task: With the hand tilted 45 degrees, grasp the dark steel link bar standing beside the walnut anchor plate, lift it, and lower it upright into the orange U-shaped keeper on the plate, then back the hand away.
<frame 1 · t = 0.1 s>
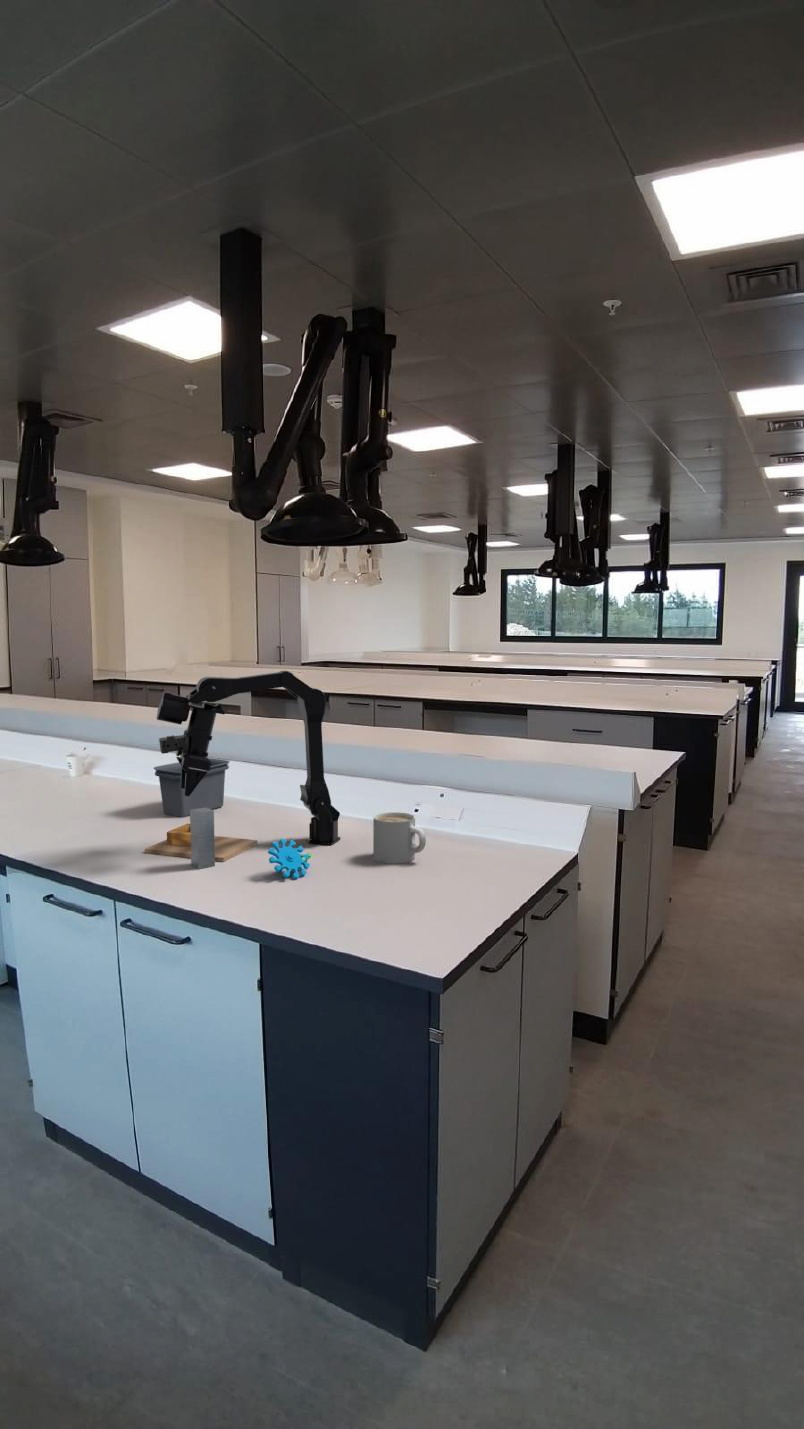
hand: (184, 792, 180), 15 cm above the table, tool pointing down, fingers open, 9 cm apart
link bar: (203, 865, 174), on the table
storage bin: (191, 811, 228), on the table
coffee mug: (399, 859, 180), on the table
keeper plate: (202, 848, 188), on the table
gear: (291, 875, 168), on the table
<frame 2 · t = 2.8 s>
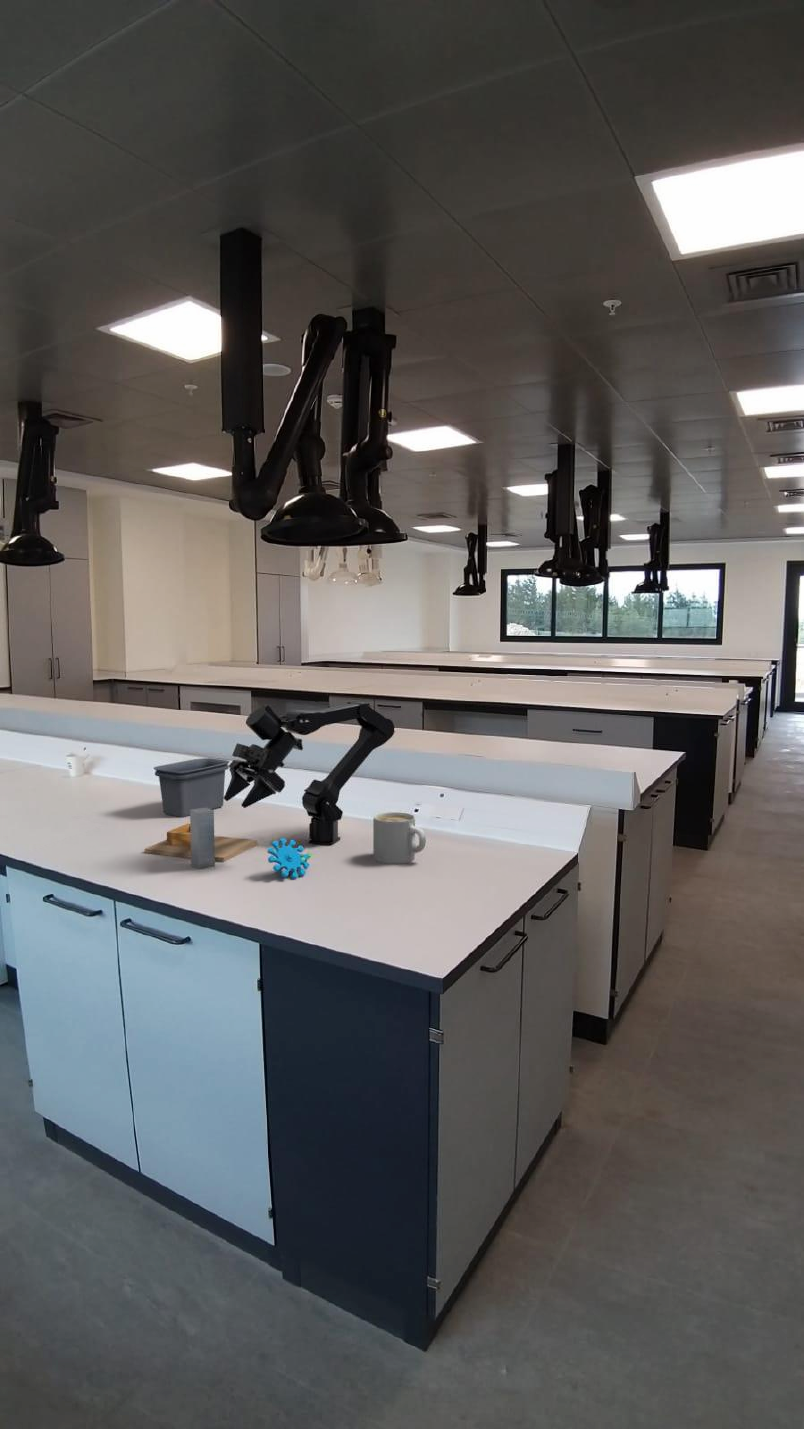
hand: (233, 803, 178), 14 cm above the table, tool tilted 45°, fingers open, 9 cm apart
nothing on the table moved.
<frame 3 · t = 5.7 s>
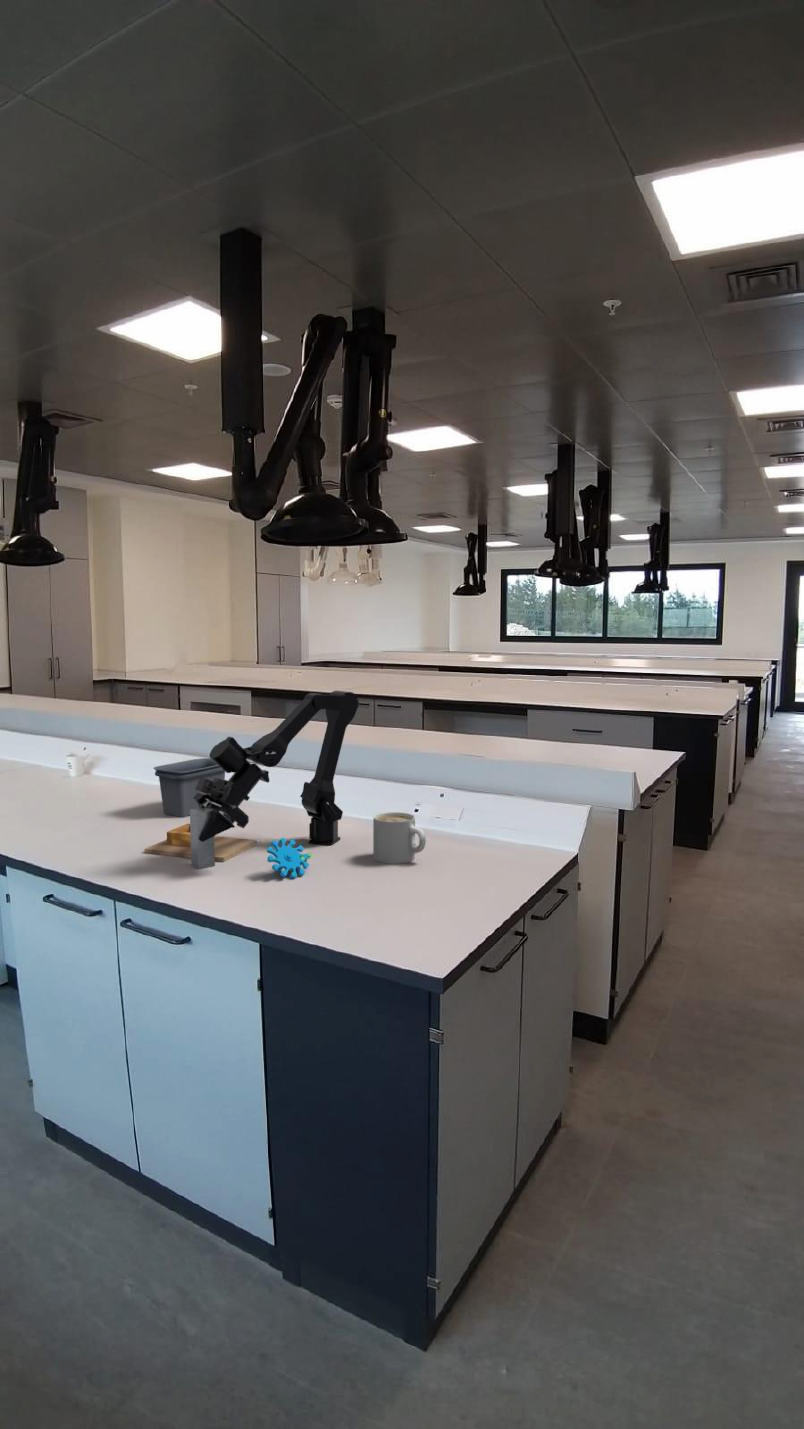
hand: (196, 838, 172), 7 cm above the table, tool tilted 45°, fingers closed on link bar, 4 cm apart
link bar: (203, 865, 174), on the table, touching gripper
everything else where it was.
when the fingers open (9 cm above the table, at t = 9.8 s): link bar drops 1 cm, resting on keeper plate.
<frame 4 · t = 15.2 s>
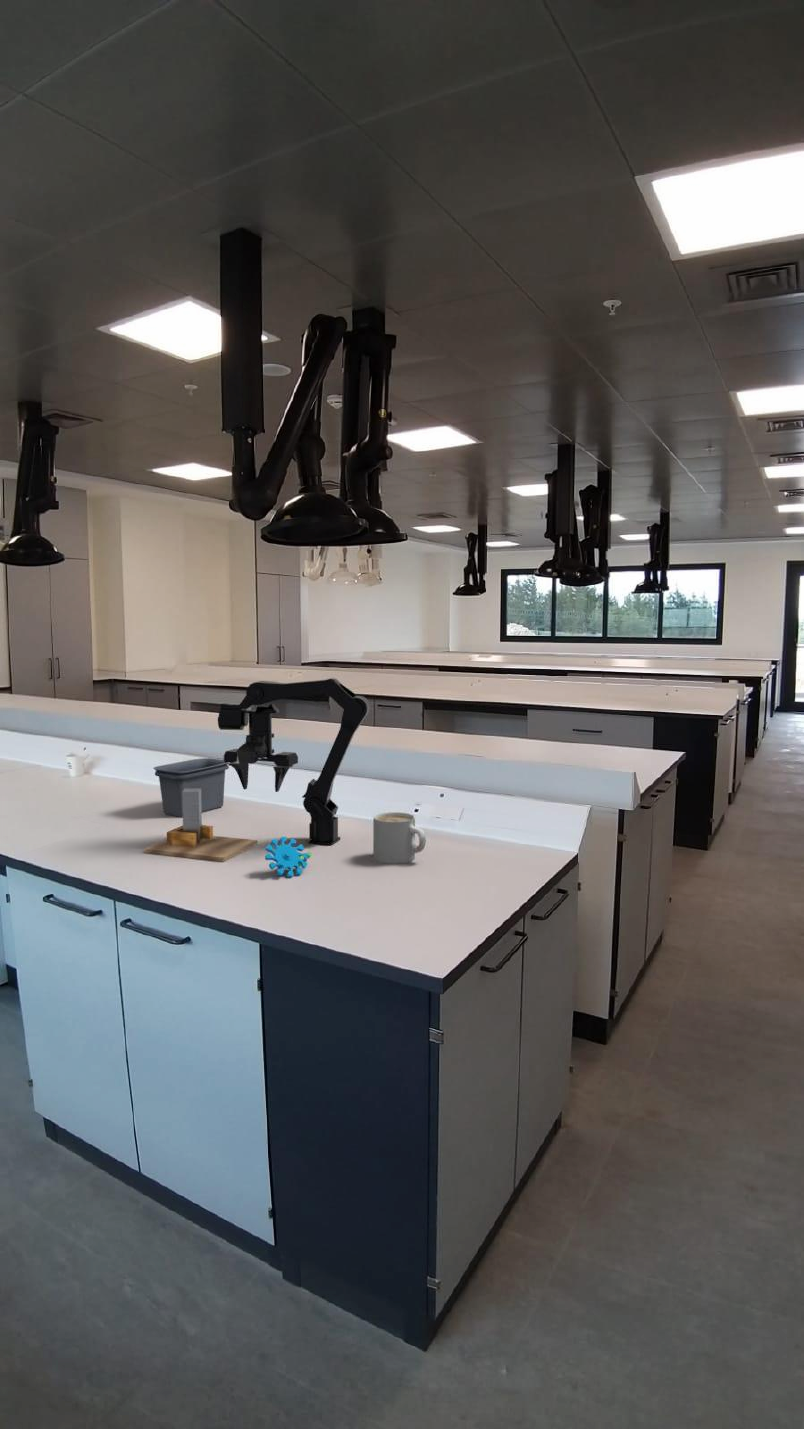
hand: (261, 790, 195), 13 cm above the table, tool pointing down, fingers open, 9 cm apart
link bar: (192, 840, 191), point 1 cm above the table, touching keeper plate
at the end: link bar 0.0 cm from the target spot on the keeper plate, point 1.0 cm above the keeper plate's base; link bar tilted 0°; the gripper is holding nothing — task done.
